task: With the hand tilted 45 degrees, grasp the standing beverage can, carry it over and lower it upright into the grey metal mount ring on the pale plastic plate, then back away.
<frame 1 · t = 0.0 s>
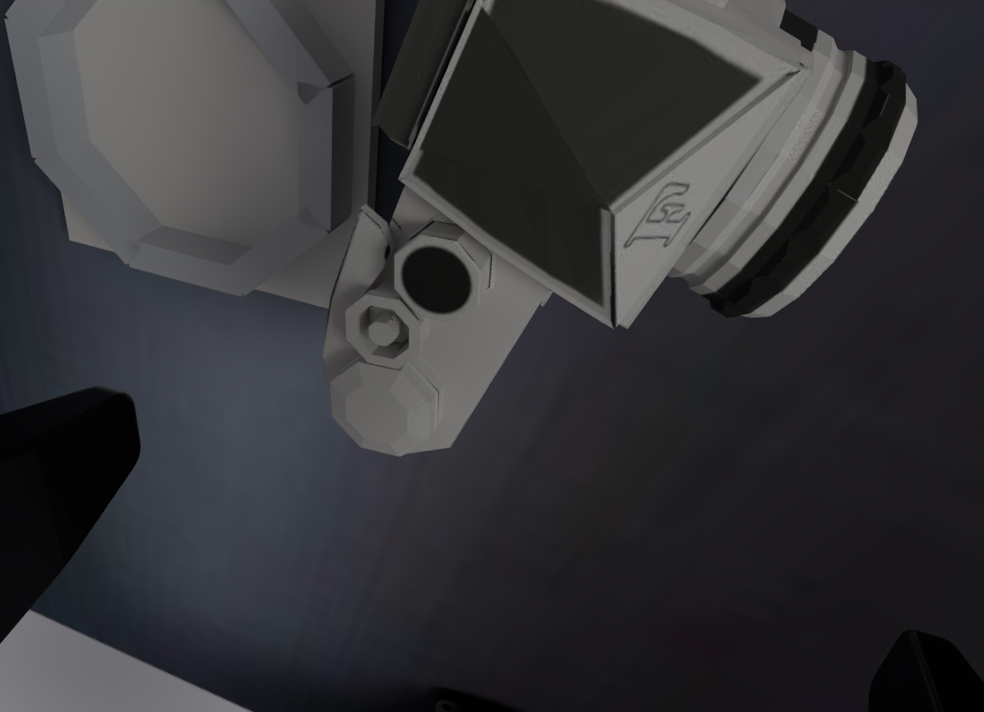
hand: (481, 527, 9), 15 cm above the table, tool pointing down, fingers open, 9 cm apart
mount: (209, 109, 24), on the table
camera: (640, 125, 21), on the table
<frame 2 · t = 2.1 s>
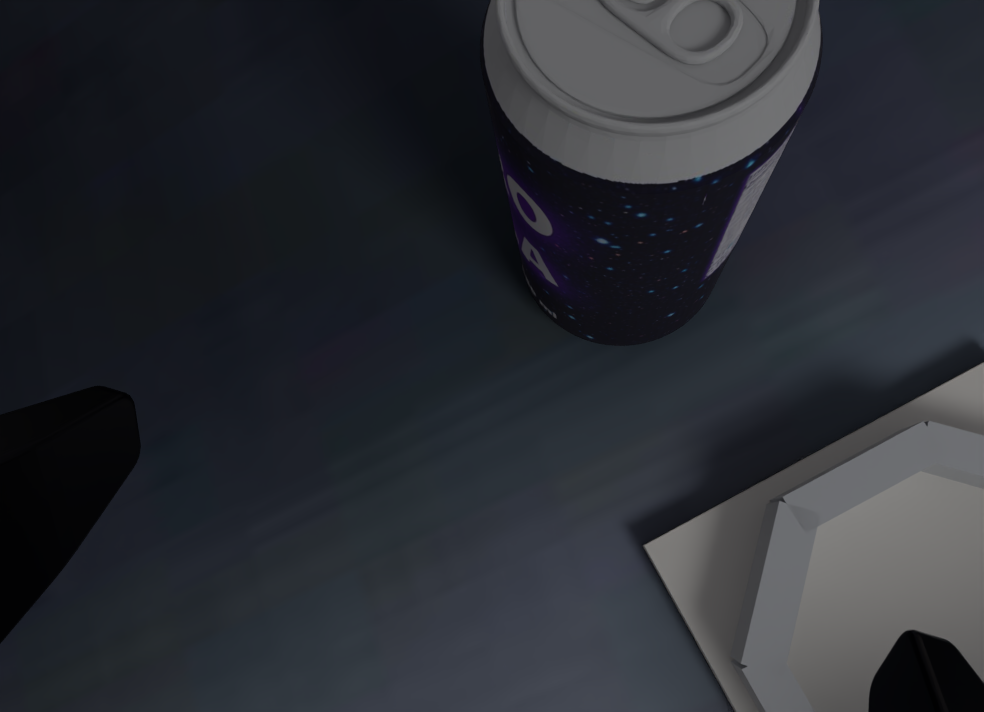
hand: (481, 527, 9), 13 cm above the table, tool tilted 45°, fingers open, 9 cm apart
mount: (939, 639, 20), on the table
beverage can: (617, 264, 24), on the table
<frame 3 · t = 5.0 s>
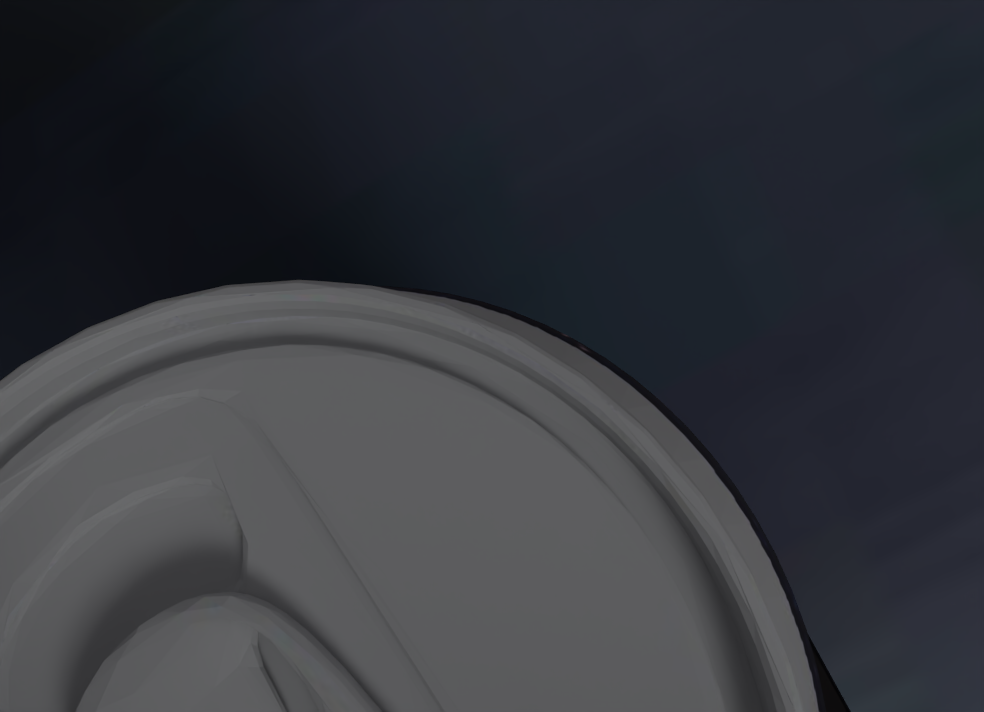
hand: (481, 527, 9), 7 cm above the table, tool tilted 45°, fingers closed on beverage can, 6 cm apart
beverage can: (504, 608, 15), on the table, touching gripper
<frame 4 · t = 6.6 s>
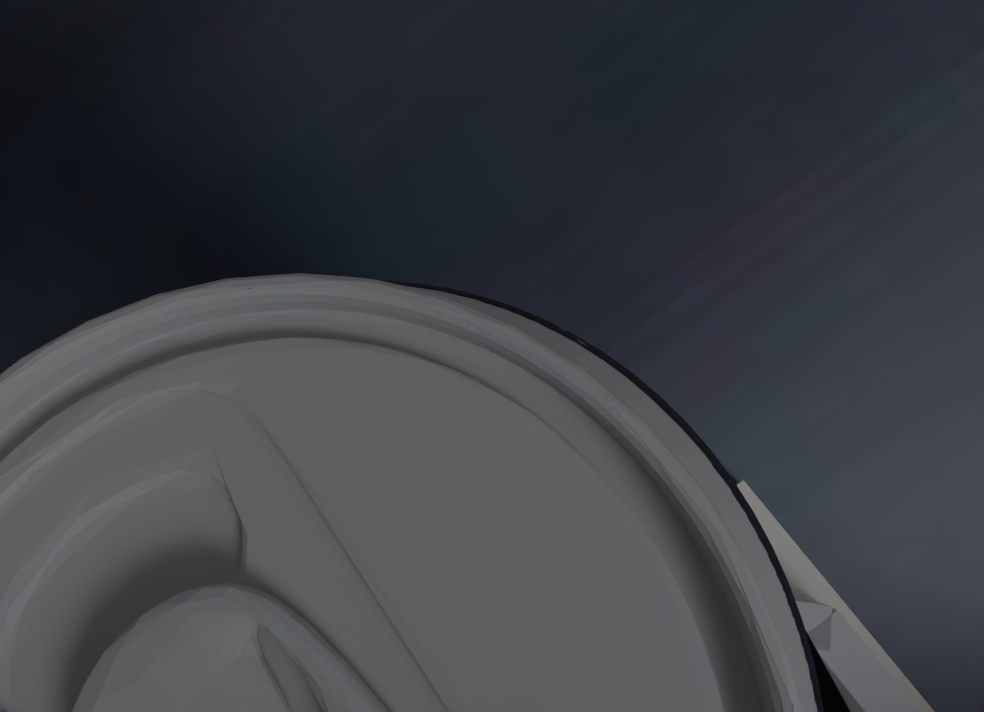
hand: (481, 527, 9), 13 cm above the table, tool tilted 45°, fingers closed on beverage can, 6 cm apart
beverage can: (503, 604, 15), point 6 cm above the table, touching gripper
when the fingers open (8 cm above the table, at t = 8.7 s): beverage can drops 1 cm, resting on mount.
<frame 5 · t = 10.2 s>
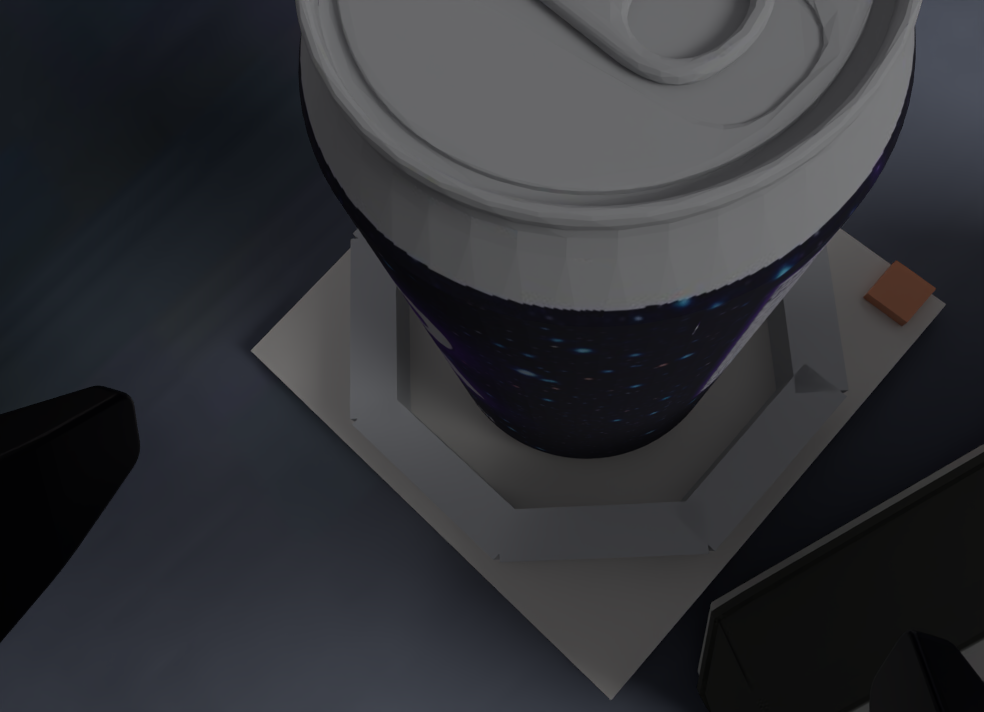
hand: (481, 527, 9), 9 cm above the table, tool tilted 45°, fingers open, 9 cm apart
mount: (584, 335, 18), on the table
beverage can: (583, 339, 18), resting on mount
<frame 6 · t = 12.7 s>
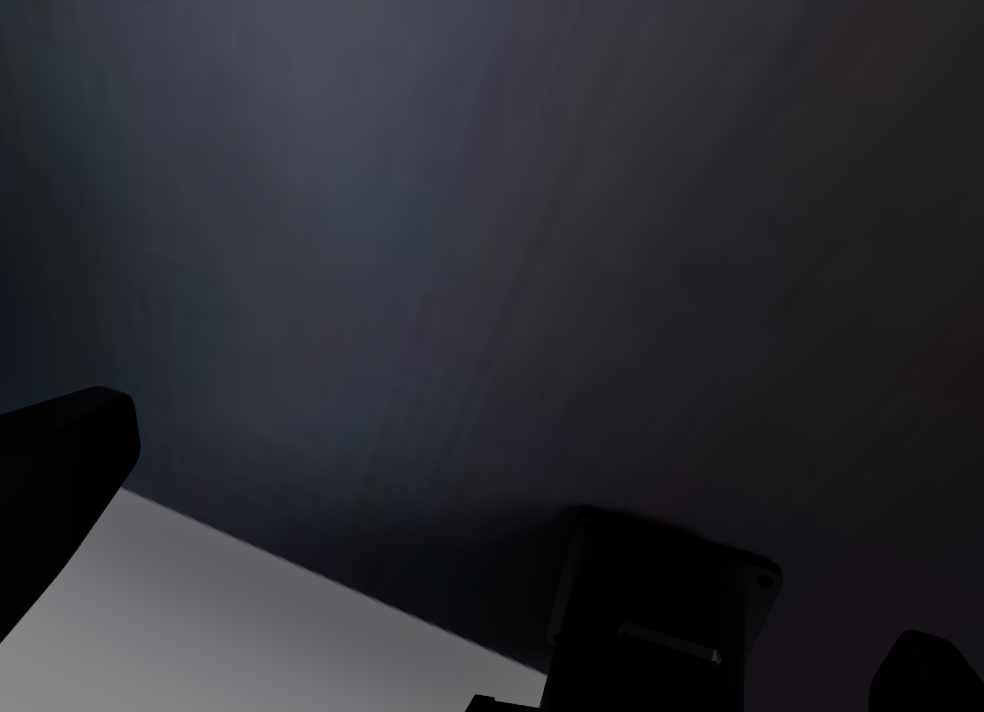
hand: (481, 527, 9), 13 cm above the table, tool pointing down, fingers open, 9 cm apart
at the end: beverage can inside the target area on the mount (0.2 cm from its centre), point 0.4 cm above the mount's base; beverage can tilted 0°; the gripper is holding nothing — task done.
